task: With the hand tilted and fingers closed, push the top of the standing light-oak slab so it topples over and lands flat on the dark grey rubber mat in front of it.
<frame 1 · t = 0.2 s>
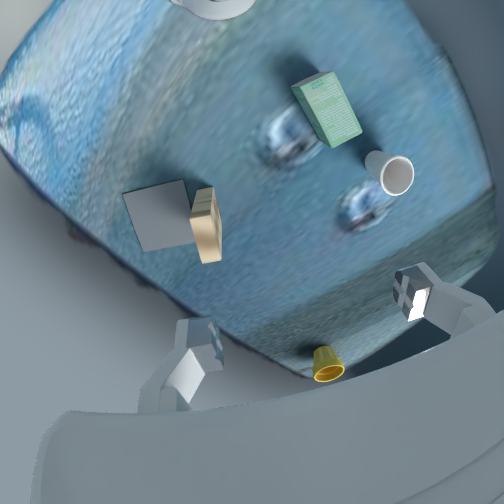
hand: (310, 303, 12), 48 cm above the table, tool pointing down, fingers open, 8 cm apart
plant pot: (322, 351, 91), on the table
mat: (161, 217, 60), on the table
box: (320, 107, 50), on the table
dixie cup: (375, 161, 57), on the table
oak slab: (209, 207, 60), on the table
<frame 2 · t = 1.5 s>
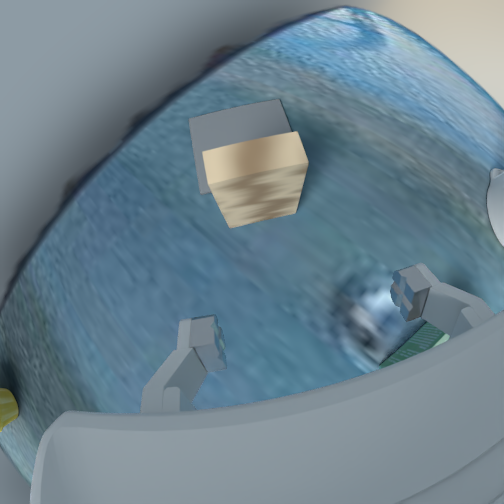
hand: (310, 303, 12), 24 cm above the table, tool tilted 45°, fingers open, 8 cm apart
plant pot: (10, 402, 34), on the table
mat: (243, 142, 40), on the table
box: (421, 354, 33), on the table
oak slab: (259, 208, 38), on the table
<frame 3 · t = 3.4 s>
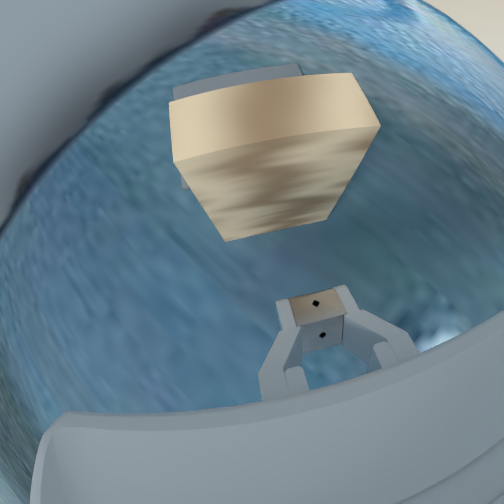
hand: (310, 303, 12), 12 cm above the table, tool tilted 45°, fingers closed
mat: (247, 115, 27), on the table
oak slab: (272, 211, 25), on the table
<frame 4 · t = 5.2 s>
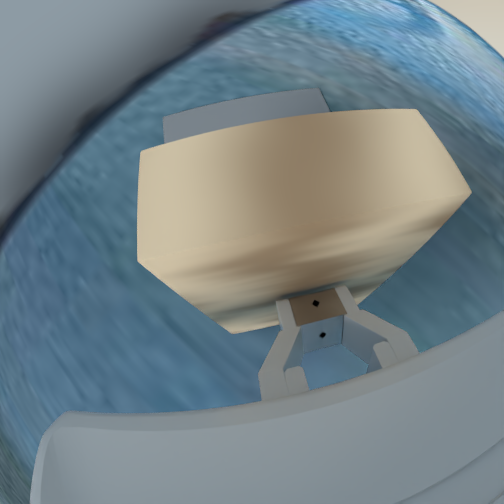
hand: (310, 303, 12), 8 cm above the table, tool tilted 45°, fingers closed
mat: (258, 161, 22), on the table
oak slab: (291, 296, 20), on the table, tilted 12°
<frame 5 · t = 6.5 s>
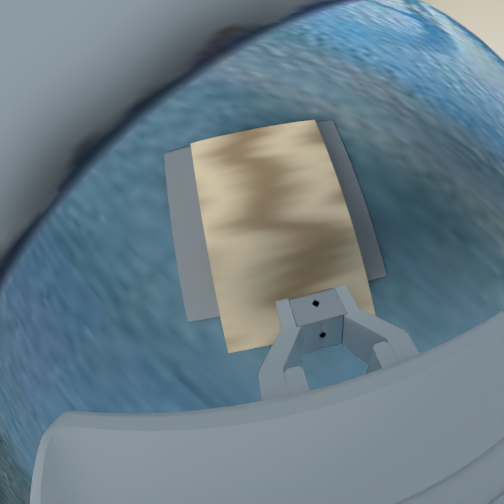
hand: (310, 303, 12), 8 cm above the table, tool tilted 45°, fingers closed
mat: (269, 209, 21), on the table
oak slab: (301, 334, 17), point 2 cm above the table, tilted 90°, touching mat
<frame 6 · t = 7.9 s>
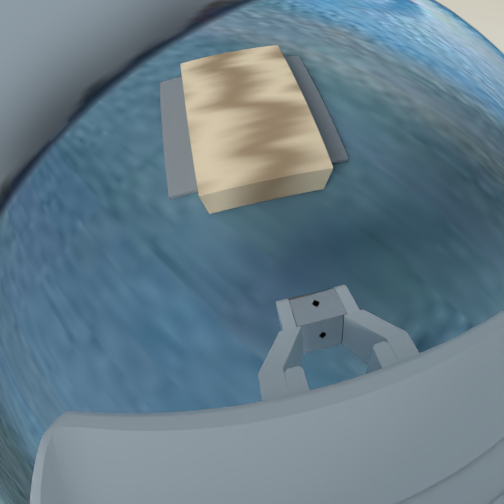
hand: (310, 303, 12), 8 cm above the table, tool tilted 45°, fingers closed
mat: (243, 112, 23), on the table
oak slab: (267, 191, 19), point 2 cm above the table, tilted 90°, touching mat
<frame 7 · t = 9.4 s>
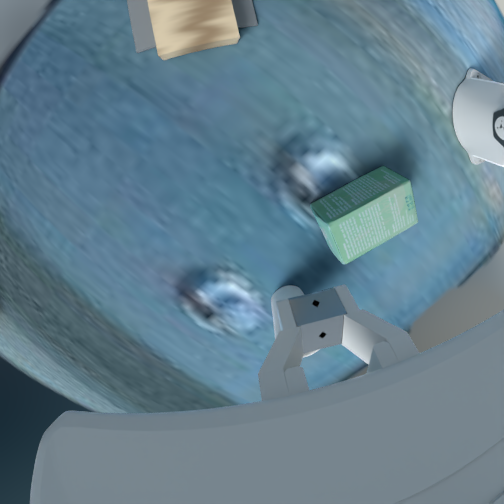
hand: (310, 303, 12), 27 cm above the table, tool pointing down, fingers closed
box: (352, 202, 41), on the table
dixie cup: (286, 297, 48), on the table
oak slab: (199, 47, 25), point 2 cm above the table, tilted 90°, touching mat
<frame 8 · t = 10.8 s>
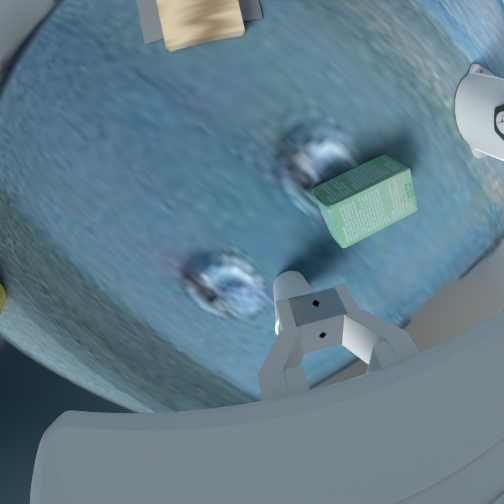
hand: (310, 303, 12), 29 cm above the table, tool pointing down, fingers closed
box: (354, 189, 41), on the table
dixie cup: (288, 283, 49), on the table
oak slab: (205, 40, 25), point 2 cm above the table, tilted 90°, touching mat
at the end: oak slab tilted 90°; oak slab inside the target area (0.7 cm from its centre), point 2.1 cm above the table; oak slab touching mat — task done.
